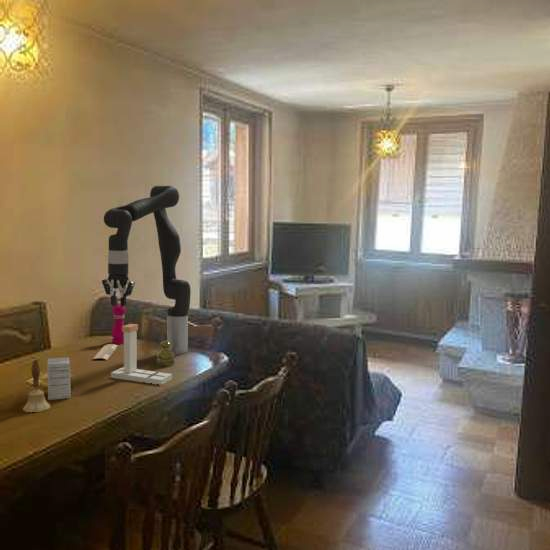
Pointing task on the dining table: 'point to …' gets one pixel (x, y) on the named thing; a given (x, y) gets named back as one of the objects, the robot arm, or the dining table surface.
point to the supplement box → (58, 378)
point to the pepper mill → (118, 324)
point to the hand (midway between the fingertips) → (118, 305)
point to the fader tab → (130, 347)
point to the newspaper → (106, 351)
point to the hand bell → (36, 393)
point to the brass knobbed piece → (166, 355)
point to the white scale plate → (142, 376)
